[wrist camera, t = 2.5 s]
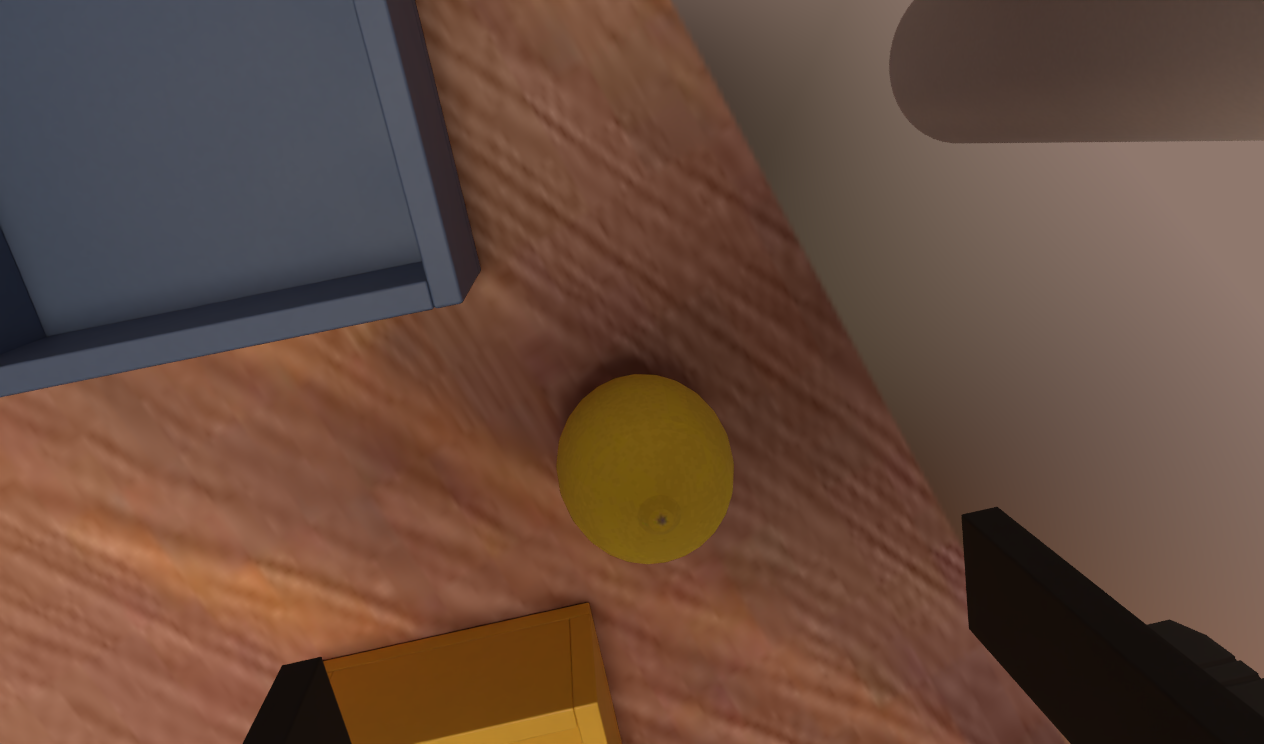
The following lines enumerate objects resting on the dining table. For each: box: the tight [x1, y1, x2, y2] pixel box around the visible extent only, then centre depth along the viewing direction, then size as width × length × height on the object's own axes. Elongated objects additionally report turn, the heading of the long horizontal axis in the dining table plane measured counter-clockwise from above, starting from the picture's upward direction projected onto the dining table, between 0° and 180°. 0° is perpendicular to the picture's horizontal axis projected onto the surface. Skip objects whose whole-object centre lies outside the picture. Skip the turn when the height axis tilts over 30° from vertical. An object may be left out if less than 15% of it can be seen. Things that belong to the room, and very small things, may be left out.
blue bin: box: [0, 0, 481, 397], centre depth 21 cm, size 15×15×6 cm
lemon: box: [556, 374, 734, 564], centre depth 25 cm, size 6×6×8 cm
